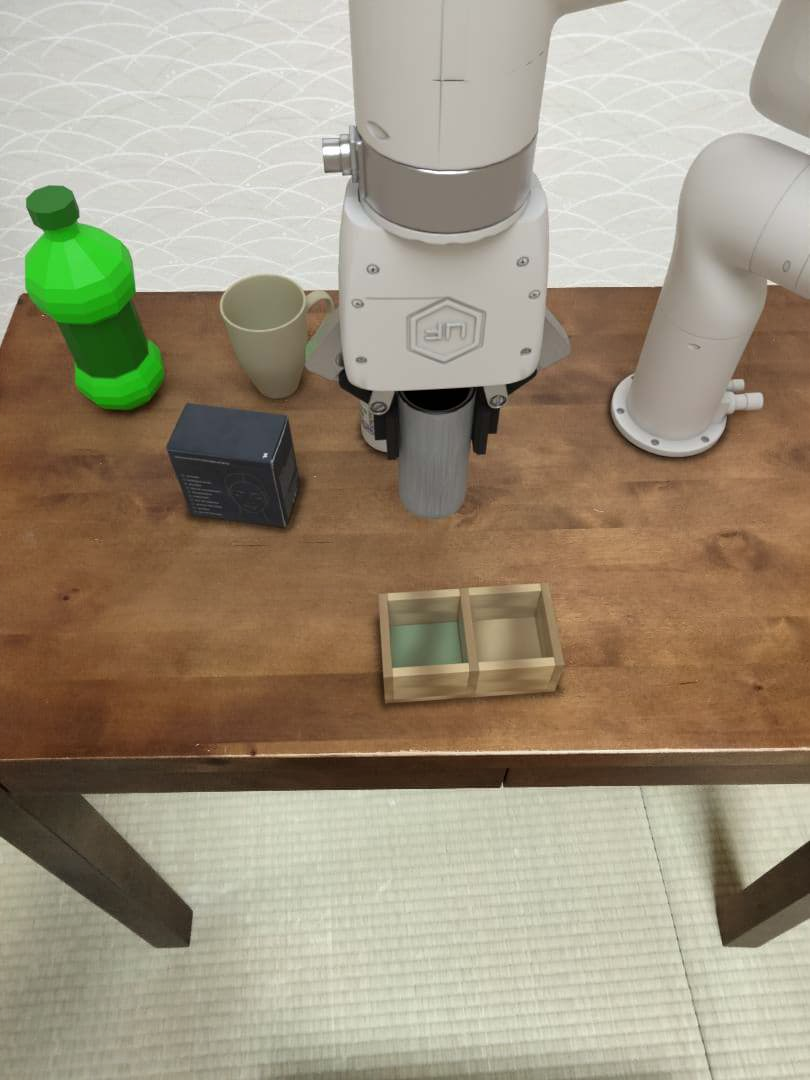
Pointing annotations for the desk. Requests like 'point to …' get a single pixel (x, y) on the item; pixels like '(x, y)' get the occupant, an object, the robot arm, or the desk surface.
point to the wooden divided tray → (469, 642)
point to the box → (235, 464)
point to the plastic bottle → (91, 302)
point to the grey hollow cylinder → (434, 449)
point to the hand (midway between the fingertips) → (434, 437)
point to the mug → (270, 329)
